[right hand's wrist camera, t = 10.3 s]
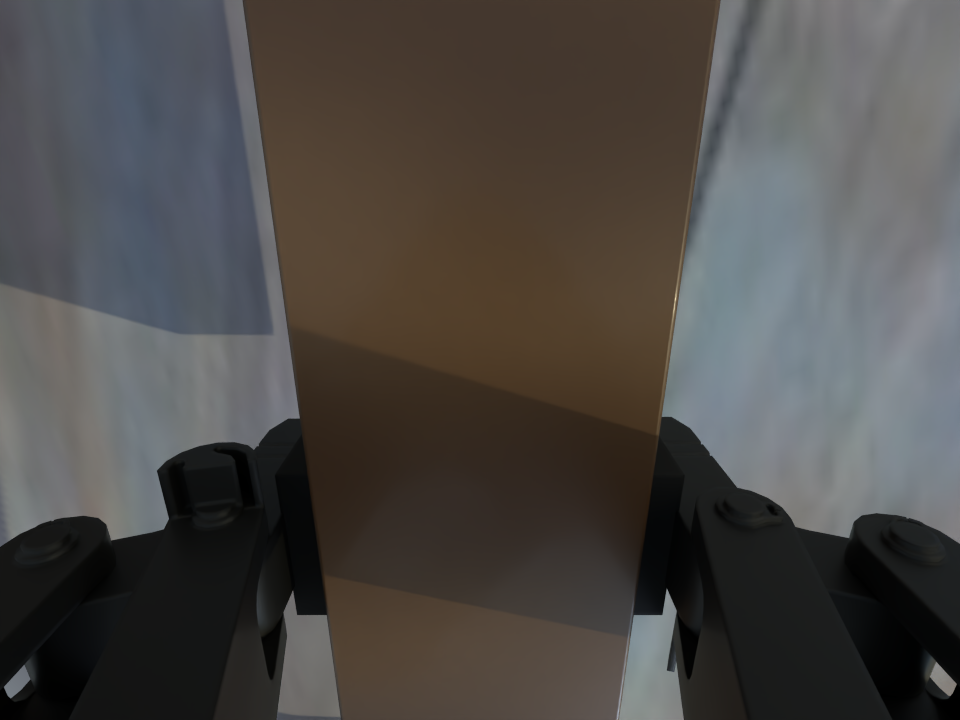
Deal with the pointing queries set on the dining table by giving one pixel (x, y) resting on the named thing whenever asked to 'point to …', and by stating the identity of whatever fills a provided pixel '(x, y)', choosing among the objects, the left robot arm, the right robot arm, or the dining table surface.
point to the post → (480, 328)
